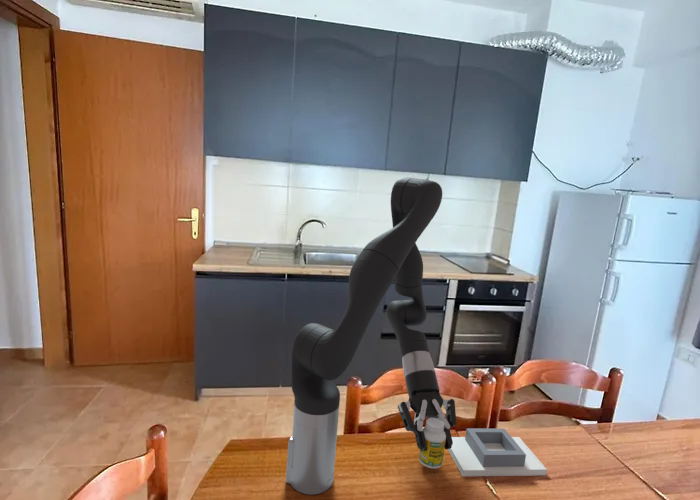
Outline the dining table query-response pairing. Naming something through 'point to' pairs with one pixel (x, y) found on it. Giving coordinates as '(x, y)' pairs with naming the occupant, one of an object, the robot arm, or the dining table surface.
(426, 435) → the supplement bottle
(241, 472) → the dining table surface
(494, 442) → the collar board
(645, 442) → the dining table surface
